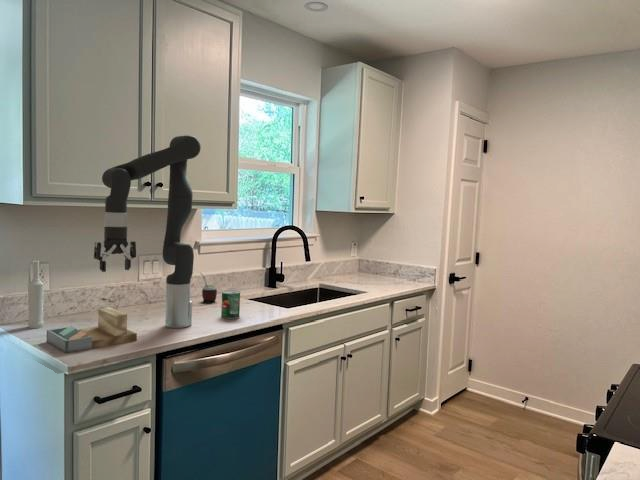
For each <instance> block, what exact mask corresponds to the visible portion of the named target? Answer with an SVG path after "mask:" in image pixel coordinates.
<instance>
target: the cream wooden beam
mask: <svg viewBox="0 0 640 480" xmlns="http://www.w3.org/2000/svg"><path fill="white" fill-rule="evenodd" d="M97 311H98V312H97V313H98V316H97V317H98V318H97V325H98V326H97V327H98V328H100V329H102V330H104V331H106V332H108V333H111V334H113V335H115V336H118V335H123V334H127V329H128V314H127V313H125V312H122V311H119V310H117V309H115V308H112V307H101V308H98V310H97Z"/></svg>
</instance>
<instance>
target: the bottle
mask: <svg viewBox="0 0 640 480" xmlns="http://www.w3.org/2000/svg"><path fill="white" fill-rule="evenodd" d="M44 285H45V283H44V282H43V281H41V279H40V260H33V261H32V279H31V281H30V282H29V283H28V284H27V291H28V292H27V295H28V297H27V299H28V300H27V302H28V322H27V326H28V328H29V329H41V328H43V327H44V324H45V322H44V295H45V294H44V293H45V292H44V288H45V287H44Z"/></svg>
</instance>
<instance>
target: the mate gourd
mask: <svg viewBox="0 0 640 480" xmlns="http://www.w3.org/2000/svg"><path fill="white" fill-rule="evenodd" d="M199 274H200V275H201V276H202V278H203V280H204V286H203V287H202V290H201V293H202V299H203V300H202V302H203V303H206V304H210V303H214V304H215V303H216V302H217V301H216V299H217V294H218V290H217V288H216V286H215V285H212V284H207V281H206V277H205V275H204V274H202V272H200V273H199Z"/></svg>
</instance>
